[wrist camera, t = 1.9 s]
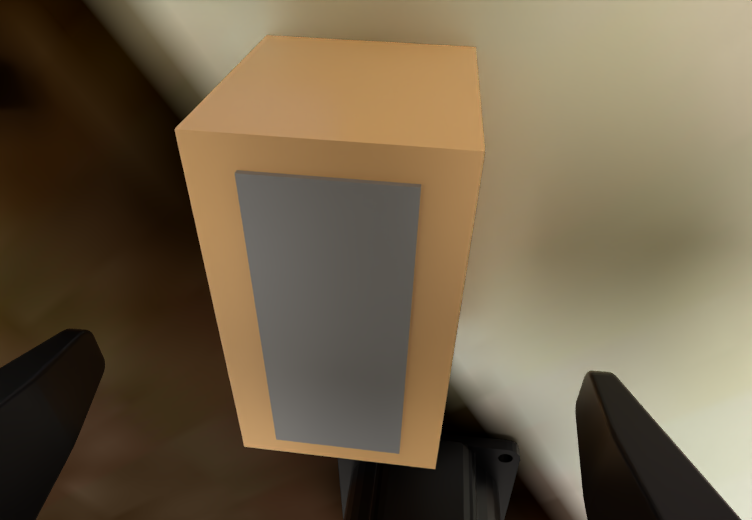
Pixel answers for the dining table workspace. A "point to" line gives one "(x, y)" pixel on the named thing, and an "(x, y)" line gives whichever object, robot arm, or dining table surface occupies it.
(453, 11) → the dining table surface
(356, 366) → the block
